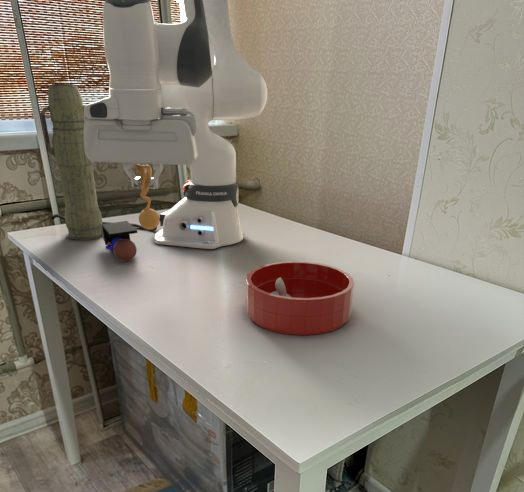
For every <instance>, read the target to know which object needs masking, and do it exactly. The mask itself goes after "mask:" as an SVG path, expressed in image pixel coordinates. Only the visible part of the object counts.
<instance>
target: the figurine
mask: <svg viewBox="0 0 524 492" xmlns="http://www.w3.org/2000/svg"><path fill="white" fill-rule="evenodd" d="M135 170H136V171H137V172H138V173H139V177H141V184H142V186H141V187H140V191H141V192H140V193H139V195H140V197H141V199H143V200H145V202H146V201H147V204H146V207H145V208H143V209H142V210H141V211H140V212H139V215H138V222H139V225H141V226H142V227H144V228H145V229H149V230H151V229H154V228H156V227H157V228H158V226H159V225H160V214H159V213H158V211H156V210H155V209H154V208H151V198H150V196H147V194H148V192H149V190H150V189H149V183H148V179H150V178H151V177H152V175H153V167H152V166H151V164H140V163H135Z"/></svg>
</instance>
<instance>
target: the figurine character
mask: <svg viewBox="0 0 524 492" xmlns="http://www.w3.org/2000/svg"><path fill="white" fill-rule="evenodd" d="M130 223H131V222H129V221H128V220H123V221H115V222H114V223H107V224H102V227H101V232H102V236H101V237H102V239H103V241H104V245H105V249H106V250H109V251H111V252H113V254H114V256H115V258H117V260H120V261H122V262H129V261H131V260H133V259H134V258H135V257H136V256H137V246H136V243H135V242H134V241H132V240H131V235H132V234H133V235H134V234H138V230H137V228H136V227H133V226H132V225H131V224H130Z"/></svg>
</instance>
